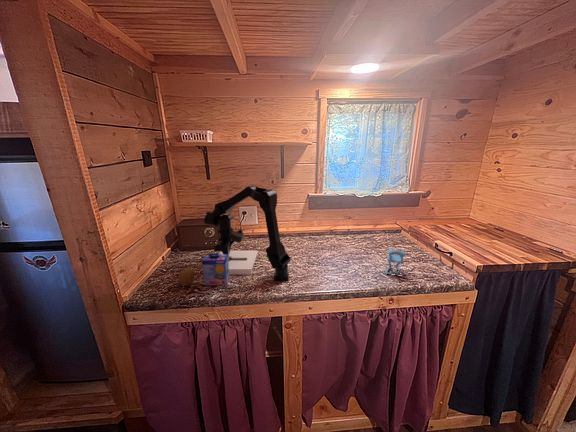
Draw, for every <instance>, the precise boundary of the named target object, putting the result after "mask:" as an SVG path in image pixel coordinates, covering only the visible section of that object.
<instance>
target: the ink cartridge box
mask: <svg viewBox="0 0 576 432" xmlns="http://www.w3.org/2000/svg"><path fill="white" fill-rule="evenodd" d="M218 254H219V253H209V254H205V255H204V257H202V259H201V265H202V271H203V272H202V273H203V281H204V286H219V285H220V286H226V285H228V284H229V282H230V274H229V266H228V255H227V254H220V255H218Z"/></svg>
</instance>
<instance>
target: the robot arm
mask: <svg viewBox="0 0 576 432" xmlns="http://www.w3.org/2000/svg"><path fill="white" fill-rule="evenodd" d="M248 198H251V199H252V200H253V201H256V202H258V205H259V206H260V208H261V210H262V211H263V213H264V217H265V226H266V230H267V236H268V241H269V246H267V247H266V248H265V253H266V258H267V259H268V261H269V262H270V265H271V268H272V269H274V276H273V281H274V282H288V281H289V279H290V278H289V277H290V276H289V275H290V272H289V271H288V270H289V268H288V264H289V263H291V260H292V258H291V257H290V255H289V253H287V252H286V248H285V245H284V244H283V243H282V242H281V236H280V232H279V224H278V218H277V212H276V209H277V205H278V194H277V192H276V191H275V190H274V189H267V188H263V187H259V186H255V185H249V186H246V187H245V188H243V189H242V190H241V191H239V192H238V193H236V194H234V195H233V196H232V197H230V198H228V199H225V200H222V201H220V202H217V203H215V204H214V209H213V210H212V211H206V214H205V216H204V218H203V222H204V224H205V225H206V226H211V227H212V226H213V227H218V229H217V234H218V235H219V238H218V242H217V243H216V244H215V245H214V246H213V249H214V252H221V251H222V253H223V254H227V255H229V254H230V250H231V249H232V245H233V244H234V242H237V243H239V244H240V243H242V241H243V238H244V236H245V235H244V232H243V230H242V229H237V230H234V228H233V227H232V223H231V220H233V219H235V217H234V215H232V214H231V213H230V212H231V211H232V210H234V209H235V207H236V206H237V205H238V204H240V203H242V202H243V201H245V200H247V199H248Z"/></svg>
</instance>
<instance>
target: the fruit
mask: <svg viewBox="0 0 576 432" xmlns="http://www.w3.org/2000/svg"><path fill="white" fill-rule="evenodd" d="M194 280H195V273H194V271H193V270H192V269H191V268H189V267H188V268H183V269H181V270H180V271H179V272H178V281H179V283H180V285H181V286H183V287H188V286H190V285H192V284H193V282H194Z"/></svg>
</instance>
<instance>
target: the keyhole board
mask: <svg viewBox="0 0 576 432" xmlns="http://www.w3.org/2000/svg"><path fill="white" fill-rule="evenodd" d="M220 254H223V253H222V251H219V253H218V255H220ZM257 257H259V251H258V250H234V249H233V250H231V249H230V261H229V262H228V266H229V275H244V276H246V275H247V276H248V275H253V268H254V264H255V261H256V259H257Z"/></svg>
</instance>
